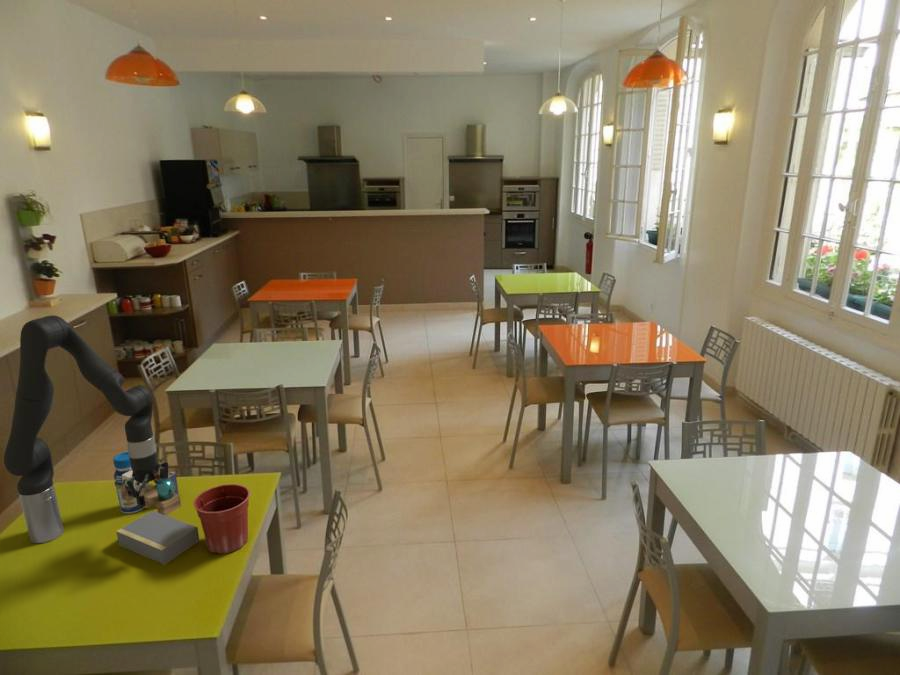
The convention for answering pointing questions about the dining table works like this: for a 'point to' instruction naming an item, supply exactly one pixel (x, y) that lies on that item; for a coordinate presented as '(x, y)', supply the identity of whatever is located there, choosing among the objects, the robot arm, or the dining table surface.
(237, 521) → the flower pot
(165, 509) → the pallet
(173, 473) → the flask
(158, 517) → the dock
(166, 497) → the teal canister
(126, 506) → the beverage bottle
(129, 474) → the white cube
